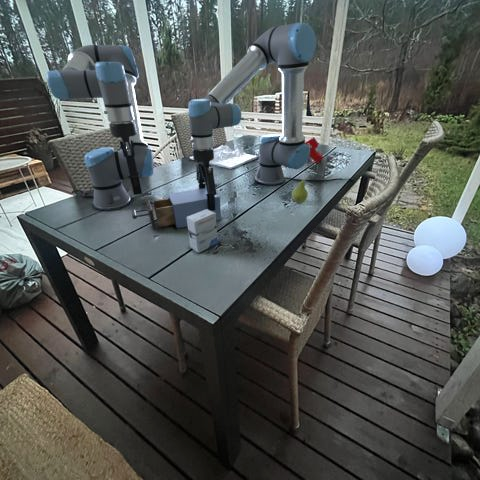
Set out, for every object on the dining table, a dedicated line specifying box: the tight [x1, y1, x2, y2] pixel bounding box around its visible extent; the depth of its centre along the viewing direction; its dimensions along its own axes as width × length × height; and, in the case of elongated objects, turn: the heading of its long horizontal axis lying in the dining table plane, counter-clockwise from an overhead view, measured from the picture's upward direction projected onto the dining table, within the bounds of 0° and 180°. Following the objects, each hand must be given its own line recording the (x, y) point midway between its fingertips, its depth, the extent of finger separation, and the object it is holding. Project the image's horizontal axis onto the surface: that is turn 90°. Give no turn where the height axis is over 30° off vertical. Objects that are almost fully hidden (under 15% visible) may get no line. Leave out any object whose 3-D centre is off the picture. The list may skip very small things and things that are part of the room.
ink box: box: [187, 209, 219, 254], centre depth 89 cm, size 8×5×12 cm, turn 134°
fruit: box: [291, 174, 311, 204], centre depth 118 cm, size 7×8×12 cm
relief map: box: [189, 144, 258, 170], centre depth 177 cm, size 27×35×5 cm
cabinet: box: [167, 188, 222, 229], centre depth 107 cm, size 18×11×10 cm, turn 113°
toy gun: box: [305, 136, 324, 165], centre depth 169 cm, size 18×4×15 cm
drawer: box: [131, 197, 176, 231], centre depth 103 cm, size 22×10×8 cm, turn 113°
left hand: (137, 193), depth 96 cm, fingers closed
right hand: (207, 204), depth 109 cm, fingers closed on cabinet, 11 cm apart
